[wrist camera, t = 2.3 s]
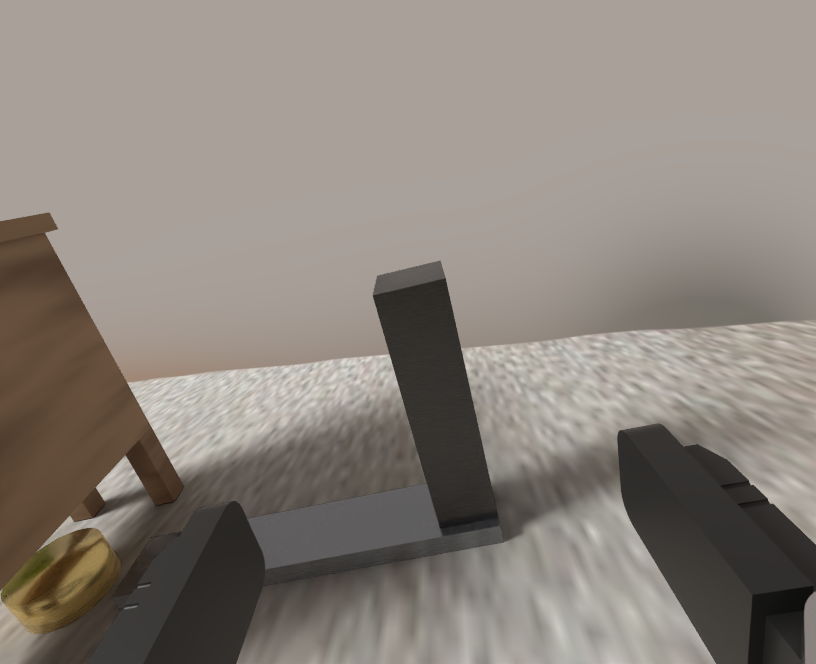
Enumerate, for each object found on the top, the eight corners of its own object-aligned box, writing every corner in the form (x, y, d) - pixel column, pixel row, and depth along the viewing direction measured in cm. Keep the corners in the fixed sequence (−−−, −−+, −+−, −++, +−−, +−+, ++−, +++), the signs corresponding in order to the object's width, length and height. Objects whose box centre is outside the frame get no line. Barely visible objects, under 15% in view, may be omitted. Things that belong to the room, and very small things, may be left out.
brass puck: (138, 550, 29) (119, 521, 28) (86, 627, 24) (62, 596, 23) (68, 564, 29) (47, 536, 28) (4, 642, 25) (-24, 612, 24)
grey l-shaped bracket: (490, 487, 26) (439, 258, 21) (504, 543, 23) (446, 281, 17) (159, 551, 28) (38, 355, 23) (121, 612, 24) (-34, 395, 19)
